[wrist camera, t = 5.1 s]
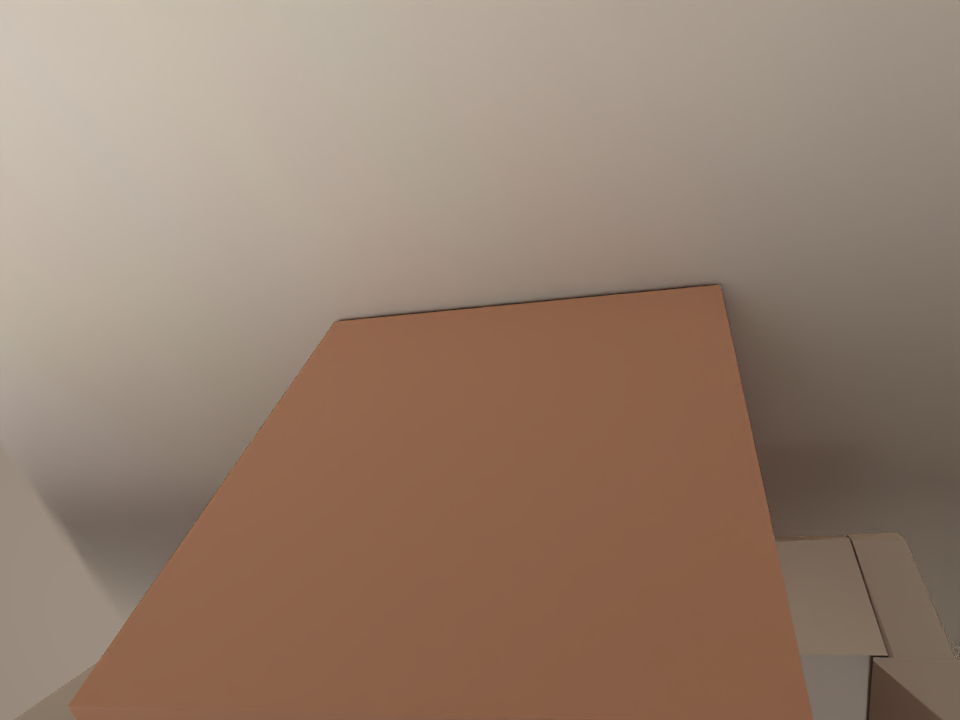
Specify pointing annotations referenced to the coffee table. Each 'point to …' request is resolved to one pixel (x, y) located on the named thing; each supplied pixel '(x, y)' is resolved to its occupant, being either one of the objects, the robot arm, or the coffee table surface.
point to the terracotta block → (482, 534)
